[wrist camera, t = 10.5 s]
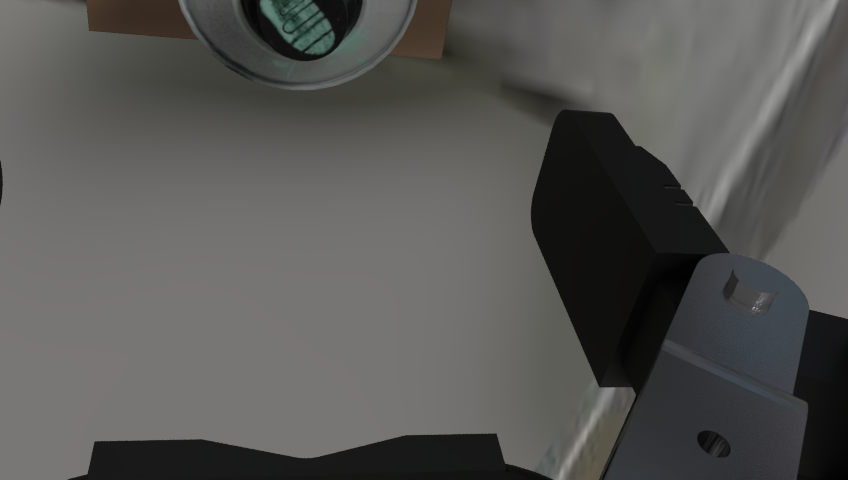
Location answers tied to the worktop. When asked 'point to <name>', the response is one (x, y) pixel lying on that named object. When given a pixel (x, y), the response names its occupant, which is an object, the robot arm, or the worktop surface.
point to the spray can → (299, 37)
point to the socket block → (161, 16)
